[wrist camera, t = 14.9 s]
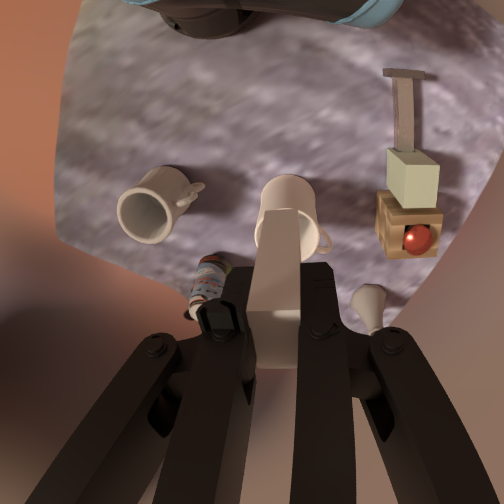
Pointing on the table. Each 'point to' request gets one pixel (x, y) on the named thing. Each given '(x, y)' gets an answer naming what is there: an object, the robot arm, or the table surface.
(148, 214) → the mug
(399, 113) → the rail
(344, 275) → the table surface
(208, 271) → the beverage can
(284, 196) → the mug
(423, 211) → the wooden boxy piece
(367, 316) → the flask
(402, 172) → the block
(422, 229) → the plunger
